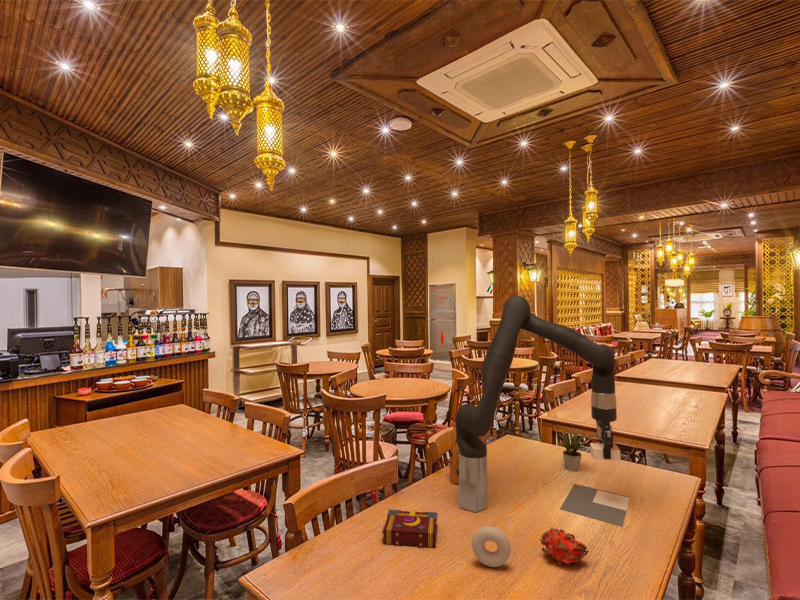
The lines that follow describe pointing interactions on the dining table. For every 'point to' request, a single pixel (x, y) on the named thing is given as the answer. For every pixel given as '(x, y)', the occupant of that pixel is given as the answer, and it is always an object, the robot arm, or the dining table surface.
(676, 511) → the dining table surface
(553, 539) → the dragon fruit
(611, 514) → the mat
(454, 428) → the coffee package
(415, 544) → the decorative book
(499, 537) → the donut
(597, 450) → the card box
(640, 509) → the dining table surface
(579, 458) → the house plant
